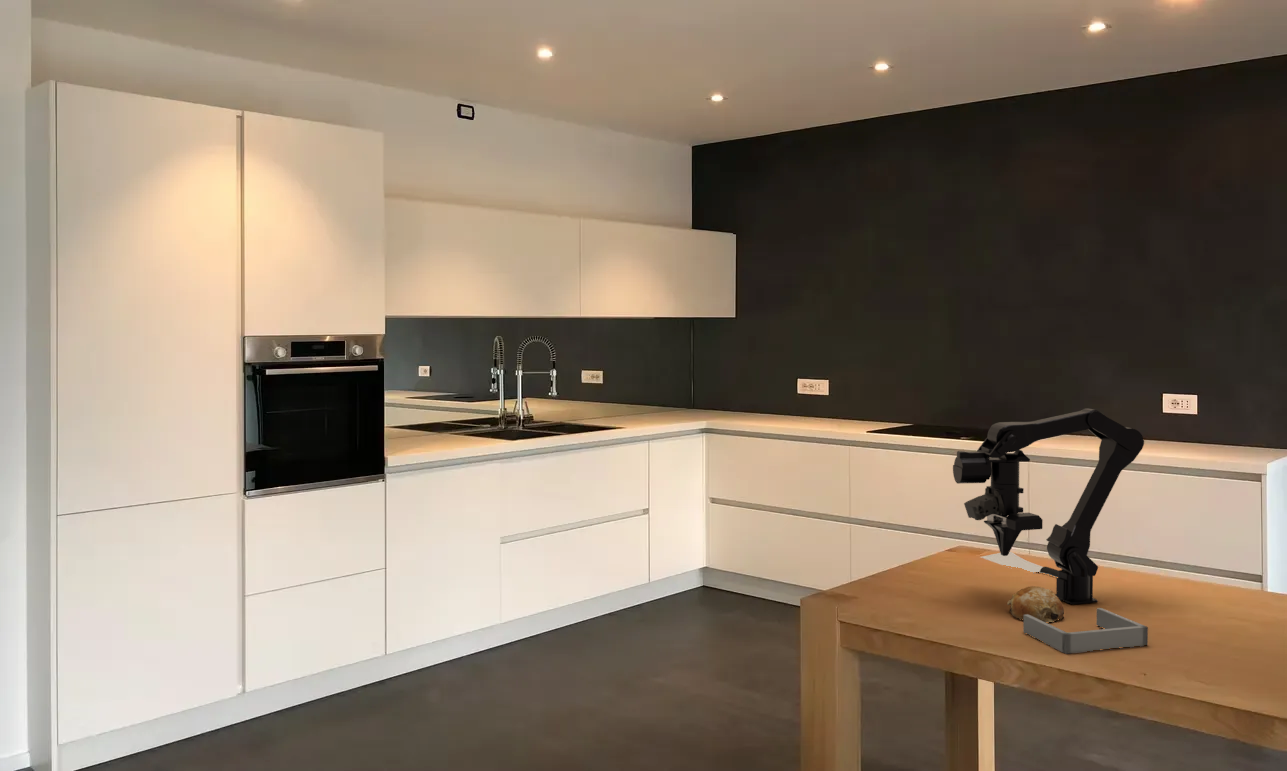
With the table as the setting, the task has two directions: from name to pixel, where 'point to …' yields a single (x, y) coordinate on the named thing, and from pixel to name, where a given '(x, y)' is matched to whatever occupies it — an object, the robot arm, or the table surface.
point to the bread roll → (1036, 604)
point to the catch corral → (1090, 634)
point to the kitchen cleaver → (1019, 563)
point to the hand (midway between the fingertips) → (1004, 555)
